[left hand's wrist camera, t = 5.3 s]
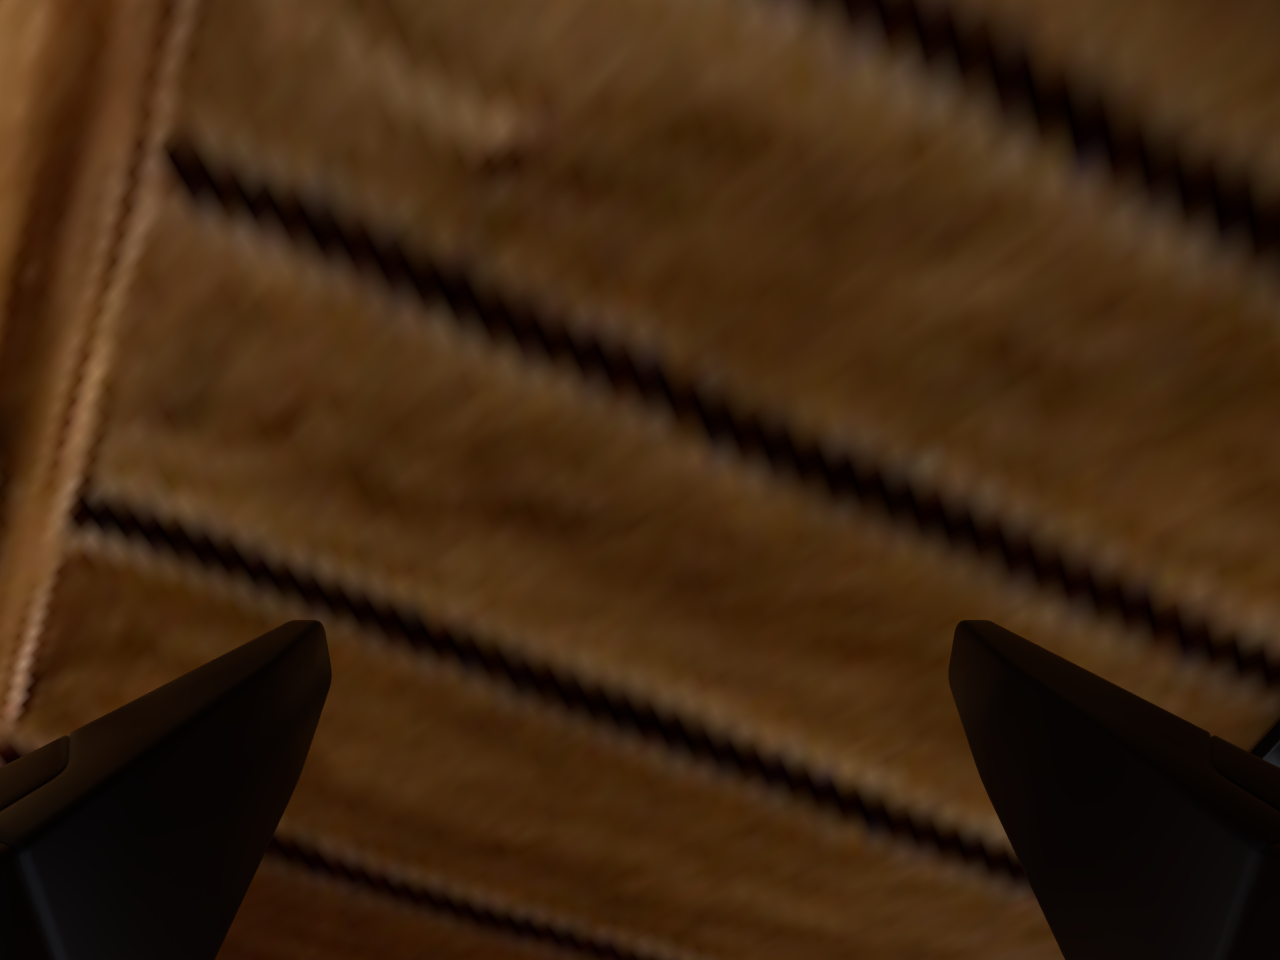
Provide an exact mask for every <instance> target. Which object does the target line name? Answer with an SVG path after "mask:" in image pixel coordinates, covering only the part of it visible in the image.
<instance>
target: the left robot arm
mask: <svg viewBox="0 0 1280 960" xmlns="http://www.w3.org/2000/svg"><path fill="white" fill-rule="evenodd" d="M331 676H332V674H331V664H330V658H329V652H328V646H327V640H326V634H325V629H324V627H323V625H322V623H321V622H319V621H317V620H293V621H289V622H287V623H285V624H283V625H281V626H279V627H277V628H275V629H273V630H271V631H269V632H267V633H265V634H263V635H261V636H260V637H258V638H256V639H254V640H252V641H250V642H248V643H246V644H244V645H242V646H240V647H238V648H236V649H234V650H232V651H230V652H228V653H226V654H224V655H222V656H220V657H218V658H216V659H214V660H212V661H210V662H208V663H206V664H204V665H203V666H201V667H199V668H197V669H195V670H193V671H191V672H189V673H187V674H185V675H183V676H181V677H179V678H177V679H175V680H173V681H171V682H169V683H167V684H165V685H163V686H161V687H159V688H157V689H155V690H153V691H151V692H149V693H148V694H146V695H144V696H142V697H140V698H138V699H136V700H134V701H132V702H130V703H128V704H126V705H124V706H122V707H120V708H118V709H116V710H114V711H112V712H110V713H108V714H106V715H104V716H102V717H100V718H98V719H96V720H94V721H92V722H91V723H89V724H87V725H85V726H83V727H81V728H79V729H77V730H75V731H73V732H71V733H70V735H69V737H68V736H63V737H61V738H59V739H57V740H55V741H53V742H51V743H49V744H47V745H45V746H43V747H41V748H39V749H37V750H35V751H33V752H31V753H29V754H27V755H25V756H23V757H21V758H19V759H17V760H15V761H13V762H11V763H9V764H7V765H5V766H3V767H1V768H0V960H215V958H216V956H217V954H218V952H219V949H220V947H221V945H222V943H223V941H224V939H225V937H226V934H227V932H228V930H229V928H230V926H231V924H232V922H233V920H234V917H235V915H236V913H237V911H238V909H239V907H240V905H241V902H242V900H243V898H244V896H245V894H246V892H247V890H248V888H249V885H250V883H251V881H252V879H253V877H254V875H255V873H256V870H257V868H258V866H259V864H260V862H261V860H262V858H263V856H264V853H265V851H266V849H267V847H268V845H269V843H270V841H271V838H272V836H273V834H274V832H275V830H276V828H277V826H278V824H279V821H280V819H281V817H282V815H283V813H284V811H285V809H286V806H287V804H288V802H289V800H290V798H291V796H292V794H293V791H294V789H295V787H296V784H297V782H298V780H299V777H300V775H301V772H302V769H303V767H304V764H305V761H306V758H307V755H308V752H309V749H310V746H311V743H312V740H313V737H314V734H315V731H316V728H317V725H318V722H319V719H320V716H321V713H322V710H323V706H324V703H325V700H326V697H327V694H328V691H329V688H330V684H331ZM948 676H949V684H950V688H951V691H952V694H953V697H954V700H955V703H956V707H957V710H958V713H959V716H960V719H961V722H962V725H963V728H964V731H965V734H966V737H967V740H968V743H969V746H970V749H971V752H972V755H973V758H974V761H975V764H976V767H977V769H978V772H979V775H980V777H981V780H982V782H983V784H984V787H985V789H986V791H987V794H988V796H989V798H990V800H991V802H992V804H993V806H994V809H995V811H996V813H997V815H998V817H999V819H1000V821H1001V824H1002V826H1003V828H1004V830H1005V832H1006V834H1007V836H1008V838H1009V841H1010V843H1011V845H1012V847H1013V849H1014V851H1015V853H1016V856H1017V858H1018V860H1019V862H1020V864H1021V866H1022V868H1023V870H1024V873H1025V875H1026V877H1027V879H1028V881H1029V883H1030V885H1031V888H1032V890H1033V892H1034V894H1035V896H1036V898H1037V900H1038V902H1039V905H1040V907H1041V909H1042V911H1043V913H1044V915H1045V917H1046V920H1047V922H1048V924H1049V926H1050V928H1051V930H1052V932H1053V934H1054V937H1055V939H1056V941H1057V943H1058V945H1059V947H1060V949H1061V952H1062V954H1063V956H1064V958H1065V960H1280V721H1279V722H1278V723H1277V724H1276V725H1275V727H1274V728H1273V729H1272V730H1271V731H1270V732H1269V733H1268V734H1267V735H1266V736H1265V738H1264V739H1263V740H1262V741H1261V742H1260V743H1259V744H1258V745H1257V746H1256V747H1255V748H1254V750H1253V751H1252V752H1251V753H1249V752H1247V751H1245V750H1243V749H1241V748H1239V747H1237V746H1235V745H1233V744H1231V743H1229V742H1227V741H1225V740H1223V739H1221V738H1219V737H1217V736H1212V737H1211V736H1210V733H1209V732H1207V731H1205V730H1203V729H1201V728H1199V727H1197V726H1195V725H1193V724H1192V723H1190V722H1188V721H1186V720H1184V719H1182V718H1180V717H1178V716H1176V715H1174V714H1172V713H1170V712H1168V711H1166V710H1164V709H1162V708H1160V707H1158V706H1156V705H1154V704H1152V703H1150V702H1148V701H1146V700H1144V699H1142V698H1140V697H1138V696H1136V695H1134V694H1132V693H1131V692H1129V691H1127V690H1125V689H1123V688H1121V687H1119V686H1117V685H1115V684H1113V683H1111V682H1109V681H1107V680H1105V679H1103V678H1101V677H1099V676H1097V675H1095V674H1093V673H1091V672H1089V671H1087V670H1085V669H1083V668H1081V667H1079V666H1077V665H1076V664H1074V663H1072V662H1070V661H1068V660H1066V659H1064V658H1062V657H1060V656H1058V655H1056V654H1054V653H1052V652H1050V651H1048V650H1046V649H1044V648H1042V647H1040V646H1038V645H1036V644H1034V643H1032V642H1030V641H1028V640H1026V639H1024V638H1022V637H1020V636H1019V635H1017V634H1015V633H1013V632H1011V631H1009V630H1007V629H1005V628H1003V627H1001V626H999V625H997V624H995V623H993V622H991V621H987V620H963V621H961V622H959V623H958V625H957V627H956V629H955V634H954V640H953V646H952V652H951V658H950V664H949V674H948Z"/></svg>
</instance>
